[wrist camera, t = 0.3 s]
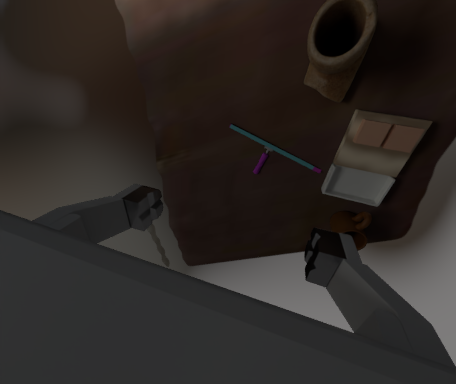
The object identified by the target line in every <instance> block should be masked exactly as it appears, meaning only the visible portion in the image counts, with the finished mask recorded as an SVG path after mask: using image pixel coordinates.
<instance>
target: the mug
mask: <svg viewBox="0 0 456 384" xmlns="http://www.w3.org/2000/svg"><path fill="white" fill-rule="evenodd" d="M363 219H364V220H363ZM361 220H363V221H362V222H361V223H360V221H361ZM371 221H372V216H371V214H370V213H368V212H360V213H359V214H357V215H355V214H353V213H351V212H348V211H340V212H337V213H335V214H334V215H333V216H332V217H331V219H330V225H331V230H332V232H336V233H342V234H347V235H350V236H352V238H353V241H354V243H355V246H356V248H357V251H358V250H361V249H362V248H364V247H365V246H366V244H367V237H366V234H365V232H364V228H366V227H368V226H369V225H370V223H371Z"/></svg>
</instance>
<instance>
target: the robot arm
mask: <svg viewBox="0 0 456 384" xmlns="http://www.w3.org/2000/svg"><path fill="white" fill-rule="evenodd" d="M161 197H162V195H161V191H160V190H158V189H155V188H151V187H147V186H143V185H139V184H133V185H131V186H130V187H128V188H126V189H125V190H123V191H121V192H120V193H118V194H116V195H115V196H113V197H112V196H108V197H104V198H99V199H95V200H91V201H86V202H81V203H77V204H73V205H68V206H63V207H59V208H56V209H54V210H52V211H50V212H49V213H47V214H45V215H43V216H41V217H39V218H37V219H35V220H33V221H30V220H27V219H24V218H21V217H18V216H16V215H13V214H10V213H7V212H4V211H1V210H0V384H456V366H455V365H454V363H453V361H452V359H451V358H450V356H449V354H448V352H447V351H446V349H445V347H444V345H443V344H442V342H441V340H440V338H439V337H438V335H437V333H436V332H435V330H434V328H433V326H432V325H431V323H429V322H428V321H427V320H426V319H425V318H424V317H423V316H422V315H421V314H420V313H418V312H417V311H416V310H415V309H414V308H413V307H412V306H411V305H410V304H409V303H408V302H406V301H405V300H404V299H403V298H402V297H401V296H400V295H399V294H398V293H397V292H395V291H394V290H393V289H392V288H391V287H390V286H389V285H388V284H387V283H386V282H384V281H383V280H382V279H381V278H380V277H379V276H378V275H377V274H376V273H375V272H374V271H372V270H371V269H370V268H369V267H368V266H367V265H364V264H362V261H361V259H360V256H359V254H358V251H357V248H356V246H355V243H354V241H353V238H352V236H350V235H347V234H342V233H336V232H332V231H328V230H323V229H319V228H315V227H314V228H313V230H312V232H311V239H310V240H308V242H307V245H306V248H305V261H306V263H307V265H306V267H305V276H306V281H308V282H311V283H314V284H317V285H320V286H323V287H326V289H327V290H328V292H329V294H330V295H331V297H332V298H333V300H334V301H335V303H336V305H337V306H338V307H339V309H340V311H341V313H342V314H343V316H344V317H345V319H346V320H347V322H348V324H349V325H350V327H351V328H352V330H353V331H354V333H352V332H349V331H346V330H343V329H341V328H338V327H335V326H332V325H329V324H326V323H323V322H320V321H318V320H314V319H312V318H309V317H306V316H303V315H300V314H297V313H295V312H292V311H289V310H286V309H283V308H280V307H277V306H275V305H272V304H269V303H266V302H263V301H260V300H257V299H254V298H251V297H249V296H246V295H243V294H240V293H237V292H234V291H231V290H228V289H226V288H223V287H220V286H217V285H214V284H211V283H208V282H205V281H203V280H200V279H197V278H194V277H191V276H188V275H185V274H182V273H180V272H177V271H174V270H171V269H168V268H165V267H162V266H159V265H157V264H154V263H151V262H148V261H145V260H142V259H139V258H137V257H134V256H131V255H128V254H125V253H122V252H119V251H116V250H114V249H110V248H107V247H105V246H102V245H99V244H97V243H99V242H101V241H103V240H105V239H108V238H110V237H112V236H114V235H116V234H119V233H121V232H123V231H125V230H128V229H130V227H131V228H134V229H138V230H142V231H145V230H146V229H147V228H148V227H149V226H150V225H151V224H152V220H154V219H157V218H158V217H159V216H160V215H161V213H162V211H163V203H162V201H161V200H160V198H161Z"/></svg>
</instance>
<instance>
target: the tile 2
mask: <svg viewBox="0 0 456 384" xmlns="http://www.w3.org/2000/svg"><path fill="white" fill-rule="evenodd" d="M424 130H425V129H422V128H418V127H412V126H406V125H399V124H393V125H392V126H391V128H390V130H389V132H388V134H387V135H386V137H385V139H384V141H383V143H382V144H381V147H383V148H385V149H391V150H396V151H402V152H407V153H410V152H411V150H412V149H413V147H414V146H415V144H416V143H417V141H418V140H419V138H420V137H421V135H422V134H423V132H424Z"/></svg>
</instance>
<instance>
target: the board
mask: <svg viewBox="0 0 456 384" xmlns="http://www.w3.org/2000/svg"><path fill="white" fill-rule="evenodd" d="M363 119H368V120H374V121H380V122H387V123H390V124H392V125H393V124H399V125H406V126H412V127H418V128H422V129H425V130H424V132H423V134H422V135H421V137H420V138H419V140H418V141H417V143H416V144H415V146H414V147H413V149H412V150H411V152H410V153H407V152H402V151H396V150H391V149H385V148H383V147H381V145H380V147H374V146H369V145H363V144H358V143H354V142H353V139H354V137H355V135H356V133H357V130H358V128H359V126H360V124H361V122H362V120H363ZM432 122H433V121H428V120H424V119H417V118H410V117H404V116H397V115H390V114H384V113H377V112H370V111H363V110H357V109H356V110H355V113H354V115H353V117H352V119H351V122H350V124H349V126H348V128H347V131H346V133H345V135H344V138H343V140H342V142H341V144H340V147H339V149H338V151H337V154H336V156H335V158H334V160H333V162H334V164H335V165H339V166H344V167H348V168H353V169H358V170H363V171H367V172H372V173H377V174H382V175H387V176H391V177H397V175H398V174H399V172H400V171H401V169H402V168H403V166H404V164H405V163H406V161H407V160H408V158H409V157H410V155H411V154H412V152H413V151H414V149H415V148H416V146H417V145H418V143H419V142H420V140H421V139H422V137H423V136H424V134H425V133H426V131H427V130H428V128H429V127H430V125H431V124H432ZM392 125H391V126H392ZM390 128H391V127H390ZM389 130H390V129H389ZM389 130H388V132H389ZM388 132H387V134H388ZM387 134H386V135H387ZM385 137H386V136H385ZM384 139H385V138H384ZM384 139H383V141H384ZM383 141H382V143H383ZM382 143H381V144H382Z"/></svg>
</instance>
